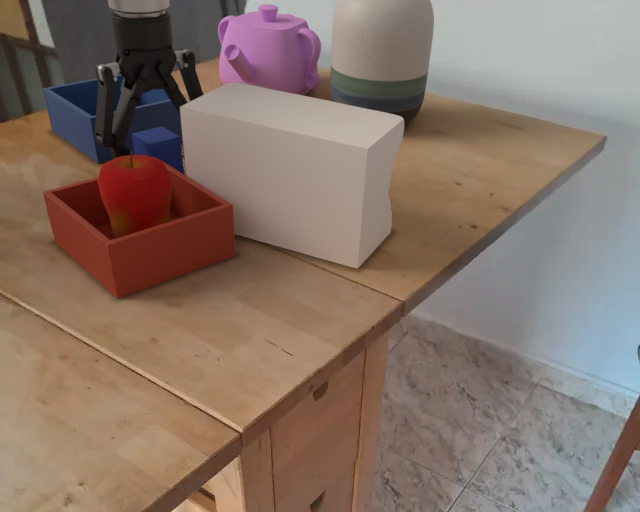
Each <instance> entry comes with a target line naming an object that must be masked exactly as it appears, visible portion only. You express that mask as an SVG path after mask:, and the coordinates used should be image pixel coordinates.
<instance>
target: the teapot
mask: <svg viewBox="0 0 640 512" xmlns="http://www.w3.org/2000/svg"><path fill="white" fill-rule="evenodd" d="M217 34H218V39H219V42H220V46H221V48H220V53H219V64H218V65H219V67H218V73H219V79H220V81H221V83H222V86H223V85H225V84H227V83H242V84H248V85H253V86H258V87H263V88H267V89H272V90H277V91H282V92H287V93H292V94H298V95H303V96H306V95H307V94H308V93H309V92H310V91H311V90H315V89H318V88H319V87H320V85H321V81H322V80H321V76H320V74H319V73H318V71H319V69H318V62H319V59H320V56H321V51H322V42H321V39H320V37H319V35H318V34H317V33H316V32H315V31H314V30H312V29H310V27H309V24H308V22H307V20H306V19H304V18H301V17H300V16H299V17H298V16H295V15H293V14H290V13H285V14H284V13H279V7H278V5H275V4H270V3H269V4H266V3H265V4H260V5H258V6H257V11H250V12H246V13H243V14H240V15H238V16H237V15H227V16H225V17H224V18H222V19H221V20H220V21H219V23H218V26H217Z"/></svg>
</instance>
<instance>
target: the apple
mask: <svg viewBox="0 0 640 512" xmlns="http://www.w3.org/2000/svg"><path fill="white" fill-rule="evenodd" d="M97 177H98V180H97V182H98V187H99V191H100V195H101V198H102V201H103V203H104V205H105V208H106V210H107V212H108V215H109V218H110V222H111V226H112V231H113V234H114V237H115V238H116V239H117V238H120V237H123V236H126V235H129V234H132V233H136V232H139V231H142V230H145V229H148V228H151V227H155V226H158V225H161V224H164V223H167V222H170V221H171V218H170V203H171V193H172V177H171V175H170V173H169V171H168V169H167V168H166V166H165V164H164V162H163V161H162V160H160V159H157V158H155V157H150V156H145V155H135V154H134V155H133V152H132V150H131V155H127V156H121V157H117V158H115V159H113V160H111V161H107V162H103V163H102V165H101V167H100V169H99V173H98V176H97Z"/></svg>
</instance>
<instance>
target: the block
mask: <svg viewBox="0 0 640 512" xmlns="http://www.w3.org/2000/svg"><path fill="white" fill-rule="evenodd" d="M132 140H133V147H134V153H135V154H134V155H145V156H150V157H155V158H157V159H160V160H162V161H163V162H164V163H166V164H168V165H169V166H171V167H173V168H174V169H176V170H177V171H179V172H181V173H182V174H184V175H185V168H184V162H183V160H184V159H183V149H182V143H181V140H180V136H178V135H176V134H174V133H173V132H171V131H169V130H167V129H166V128H164V127H157V128H153V129H149V130H145V131H140V132H136V133H132Z"/></svg>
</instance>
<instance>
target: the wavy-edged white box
mask: <svg viewBox="0 0 640 512" xmlns="http://www.w3.org/2000/svg"><path fill="white" fill-rule="evenodd" d="M180 116H181V126H182V137H183V142H182V148H183V147H184V152H183V159H184V158H185V162H184V169H185V168H186V171H185V176H187V177H189V178H190V179H192V180H193V181H195V182H197V183H198V184H200V185H201V186H203V187H205V188H206V189H208V190H209V191H211V192H212V193H214V194H216V195H217V196H219V197H220V198H222V199H224V200H225V201H227V202H228V203H230V204H232V205H233V218H234V235H236V236H240V237H243V238H247V239H250V240H254V241H257V242H261V243H264V244H267V245H268V244H269V245H271V246H275V247H278V248H282V249H286V250H289V251H292V252H296V253H300V254H302V255H307V256H311V257H315V258H316V259H317V258H318V259H321V260H325V261H329V262H332V263H335V264H338V265H342V266H346V267H349V268H353V269H356V270H357V269H359V268H360V267H361V266H362V265H363V263H364V262H365V261H367V259H368V258H369V257H370V256H371V255H372V254H373V253H374V251H376V249H377V248H378V247H379V246H380V245H381V244H382V243H383V241H384V240H385V239H386V238H387V237H388V236H389V235H390V234H391V232H392V225H393V211H392V205H391V200H390V197H389V192H390V187H391V181H392V173H393V169H394V165H395V160H396V157H397V155H398V153H399V150H400V147H401V144H402V141H403V137H404V132H405V125H404V119H403V118H402V117H401V116H398V115H394V114H390V113H385V112H380V111H375V110H370V109H366V108H361V107H356V106H351V105H346V104H341V103H337V102H332V101H331V100H326V99H322V98H316V97H312V96H307V95H298V94H292V93H287V92H282V91H277V90H272V89H267V88H263V87H258V86H253V85H248V84H242V83H227V84H225V85H223V84H222V85H220V86H219V87H217V88H215V89H213V90H211V91H209V92H206V93H205V94H204V95H203V96H201V97H199V98H197V99H195V100H193V101H191V102H190V101H189V102H188V103H187V104H185V105H182V106H180Z"/></svg>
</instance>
